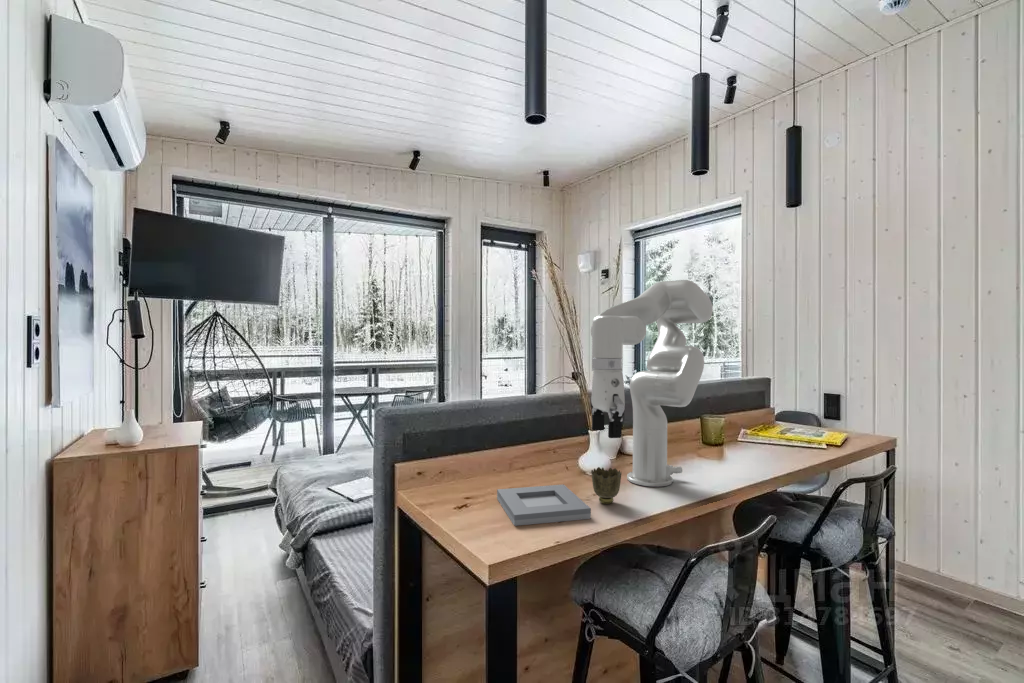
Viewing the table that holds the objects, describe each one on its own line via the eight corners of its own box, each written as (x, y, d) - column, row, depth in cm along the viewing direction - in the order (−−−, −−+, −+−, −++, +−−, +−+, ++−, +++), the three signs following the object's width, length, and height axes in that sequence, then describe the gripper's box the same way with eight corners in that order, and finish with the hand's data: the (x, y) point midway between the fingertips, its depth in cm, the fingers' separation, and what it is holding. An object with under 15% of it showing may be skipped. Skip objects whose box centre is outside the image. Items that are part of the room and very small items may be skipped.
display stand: (563, 493, 129) (563, 484, 129) (590, 518, 112) (590, 508, 112) (497, 498, 125) (497, 489, 125) (514, 525, 107) (514, 515, 107)
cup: (622, 499, 125) (622, 468, 125) (620, 509, 118) (620, 476, 118) (592, 496, 127) (592, 465, 127) (589, 506, 120) (589, 473, 120)
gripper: (637, 367, 114) (636, 440, 114) (606, 363, 131) (605, 427, 131) (608, 367, 112) (607, 441, 112) (579, 363, 129) (579, 427, 129)
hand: (606, 433), depth 122 cm, fingers open, 9 cm apart
